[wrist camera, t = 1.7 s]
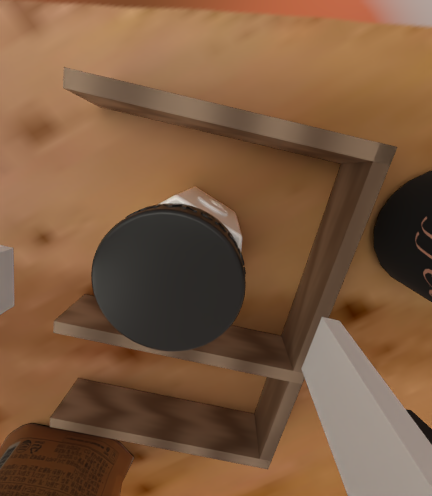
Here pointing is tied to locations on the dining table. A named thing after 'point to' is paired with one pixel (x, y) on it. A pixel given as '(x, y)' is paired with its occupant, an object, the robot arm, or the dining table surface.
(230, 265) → the jar
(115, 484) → the pancake mix bag
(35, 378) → the dining table surface
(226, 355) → the lane organizer
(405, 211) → the coffee jar
